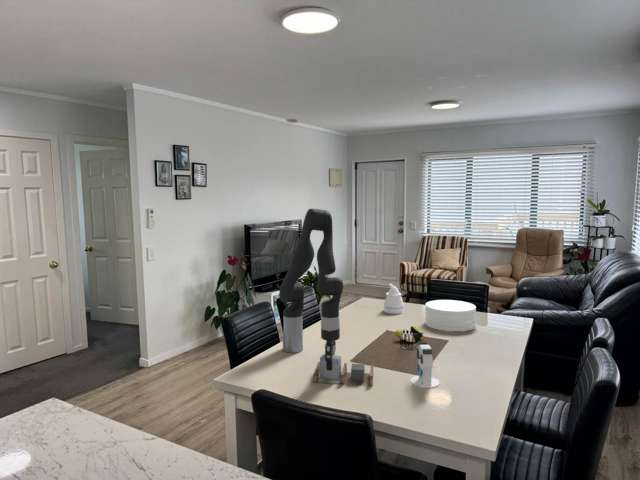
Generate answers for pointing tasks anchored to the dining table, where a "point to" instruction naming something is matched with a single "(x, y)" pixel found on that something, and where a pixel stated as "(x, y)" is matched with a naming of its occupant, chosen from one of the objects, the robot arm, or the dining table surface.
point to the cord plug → (357, 372)
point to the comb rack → (343, 377)
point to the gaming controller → (416, 334)
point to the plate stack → (450, 315)
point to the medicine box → (336, 368)
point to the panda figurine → (424, 367)
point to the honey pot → (393, 301)
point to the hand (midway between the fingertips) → (330, 366)
